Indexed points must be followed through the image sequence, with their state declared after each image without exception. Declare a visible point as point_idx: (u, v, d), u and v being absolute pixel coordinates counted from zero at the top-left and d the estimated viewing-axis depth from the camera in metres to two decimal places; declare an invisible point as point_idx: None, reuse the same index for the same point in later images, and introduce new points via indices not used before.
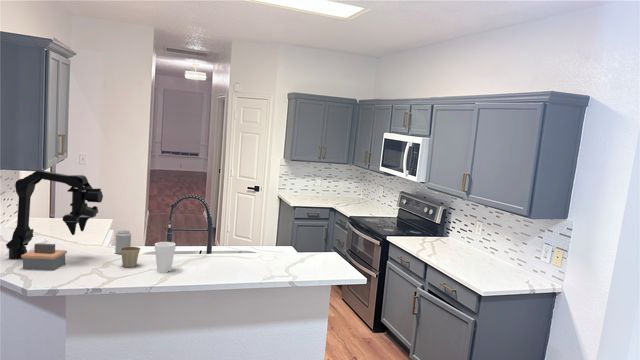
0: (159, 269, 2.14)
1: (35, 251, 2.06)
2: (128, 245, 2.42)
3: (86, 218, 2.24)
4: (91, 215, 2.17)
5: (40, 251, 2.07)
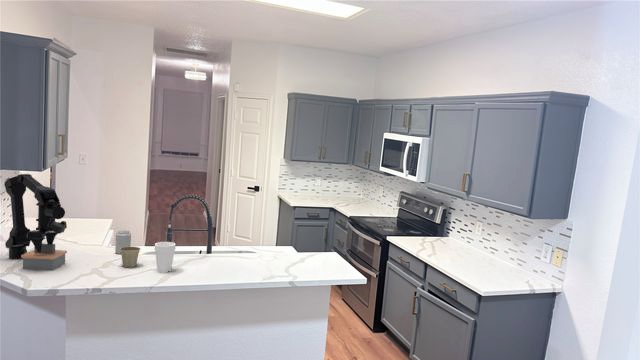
0: (159, 269, 2.14)
1: (35, 251, 2.06)
2: (128, 245, 2.42)
3: (54, 233, 2.13)
4: (58, 231, 2.05)
5: None
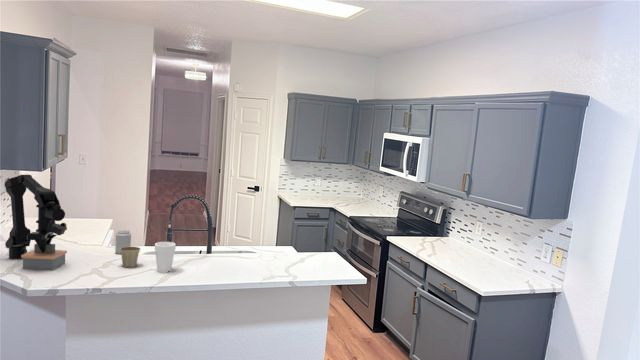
0: (159, 269, 2.14)
1: (35, 251, 2.06)
2: (128, 245, 2.42)
3: (51, 237, 2.09)
4: (58, 233, 2.05)
5: (40, 251, 2.07)
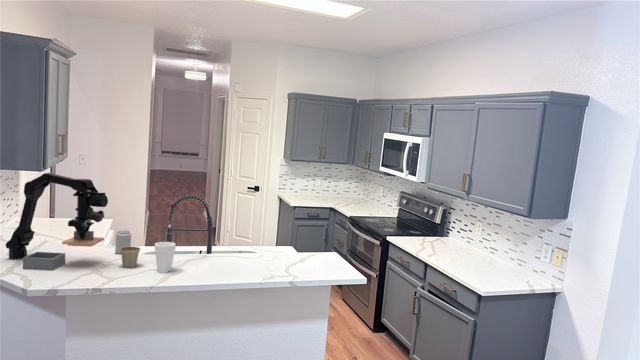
0: (159, 269, 2.14)
1: (75, 238, 2.13)
2: (128, 245, 2.42)
3: (89, 224, 2.16)
4: (97, 220, 2.12)
5: (79, 238, 2.14)
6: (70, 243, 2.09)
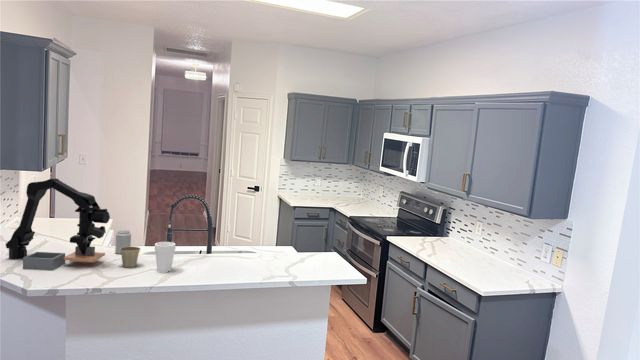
0: (159, 269, 2.14)
1: (76, 253, 2.15)
2: (128, 245, 2.42)
3: (90, 239, 2.17)
4: (98, 236, 2.13)
5: (81, 253, 2.15)
6: (71, 259, 2.10)
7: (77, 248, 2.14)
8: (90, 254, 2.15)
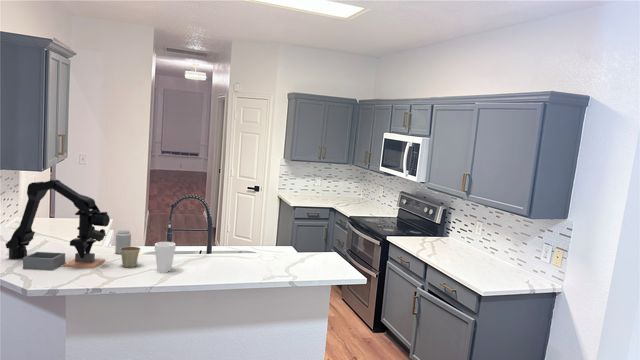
0: (159, 269, 2.14)
1: (76, 260, 2.15)
2: (128, 245, 2.42)
3: (91, 242, 2.19)
4: (98, 239, 2.14)
5: (81, 260, 2.15)
6: (71, 266, 2.10)
7: (77, 255, 2.15)
8: (90, 261, 2.15)
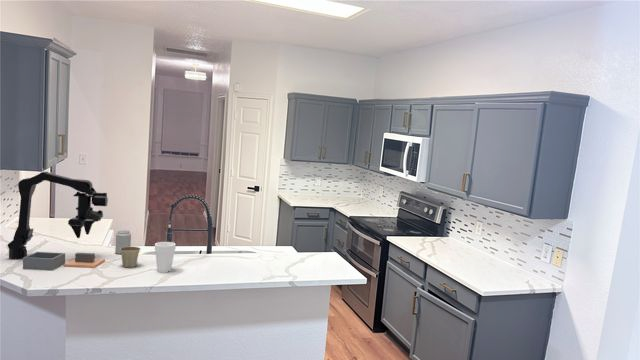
0: (159, 269, 2.14)
1: (76, 260, 2.15)
2: (128, 245, 2.42)
3: (91, 222, 2.31)
4: (96, 219, 2.23)
5: (81, 260, 2.15)
6: (71, 266, 2.10)
7: (77, 255, 2.15)
8: (90, 261, 2.15)
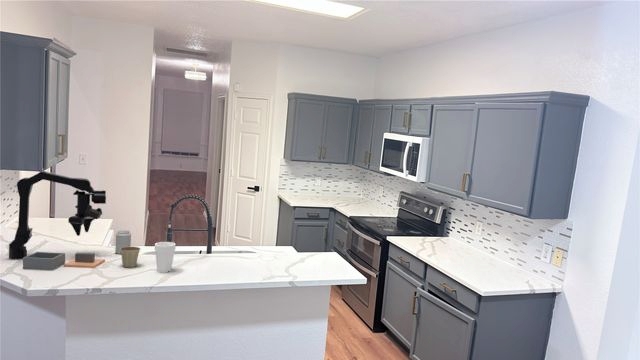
0: (159, 269, 2.14)
1: (76, 260, 2.15)
2: (128, 245, 2.42)
3: (90, 219, 2.35)
4: (95, 217, 2.27)
5: (81, 260, 2.15)
6: (71, 266, 2.10)
7: (77, 255, 2.15)
8: (90, 261, 2.15)
